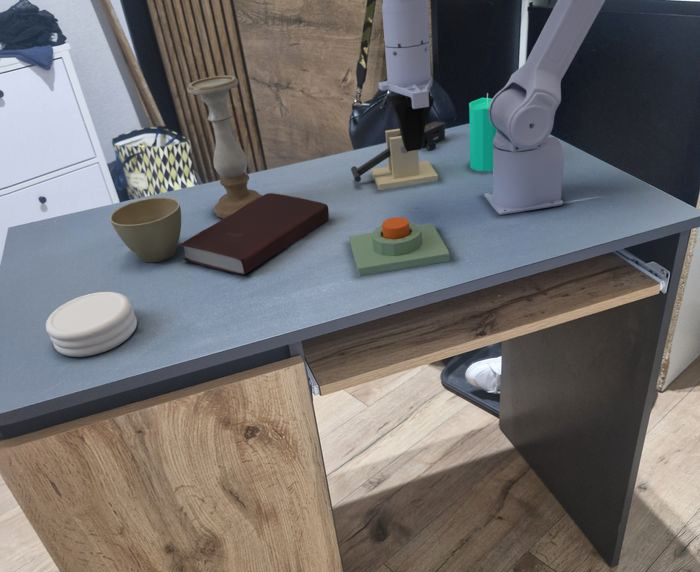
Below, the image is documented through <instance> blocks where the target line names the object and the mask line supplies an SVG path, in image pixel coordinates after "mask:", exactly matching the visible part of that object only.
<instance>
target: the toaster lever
mask: <svg viewBox="0 0 700 572" xmlns="http://www.w3.org/2000/svg"><path fill="white" fill-rule="evenodd" d="M398 136H401V134H399V135H398ZM390 156H391V152H390V147H389V148H388V149H387V148H386V149H385V150H383V151H381V152H380V153H379V154H377V155H375V156H374V157H373V158H371V159H370V160H368V161H366V162H365V163H364V164H362V165H360V166H359V167H357V166H356V165H355V166H352V167H351V168H350V171H351V174H352V177H353V181H354V182H355V183H359V182H361V181H362V177H361V176H362V175H364V174H365V173H367V172H369V171H371V170H372V169H374V168H375V167H376V166H377V165H379V164H380V163H382V162H383V161H385V160H388V157H390Z"/></svg>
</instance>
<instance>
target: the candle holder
mask: <svg viewBox="0 0 700 572" xmlns="http://www.w3.org/2000/svg"><path fill="white" fill-rule="evenodd" d="M238 85H239V80H238V78H237V77H236V76H234V75H227V74H226V75H215V76H210V77H209V76H208V77H205V78H200V79H197V80H194V81H192V82H190V83H189V84H188V85H187V87H186V89H187V93H188V94H189V95H192V96H193V95H195V96H200V98H201V101H202V102H203V103H205V104H206V105H207V107H208V110H209V112H208V116H207V121H208V122H211V124H212V128H213V132H214V138H215V147H214V152H213V153H214V154H213V159H212V160H213V162H212V164H213V167H214V169H215V171H216V172H217V174H218V175H220V176H221V178H220V180H219V184H220V186H222V187H223V188H224V189H225V191H226V193H225V194H223V195H222V196H220V197H219V199H218V202H217V203H216V204H215V205H214V207H213V210H214V214H215V216H217V217H218V218H220V219H224V218H226V217H227V216H229V215H231V214H233V213H234V212H236V211H237V210H239V209H241V208H242V207H244V206H246V205H247V204H249V203H251V202H253V201H254V200H256V199H258V198H260V197H261V196H263V194H261V193H259V192H258V191H257V190H255V189H249V188H248V184H249V183H248V182H249V180H250V176H249V175H248V173H246V172H245V171H246V170H247V167H248V163H249V162H248V157H247V155H246V153H245V151H244V150H243V149H242V148H243V147H241V145H240V144H239V143H238V141H237V139H236V137H235V134H234V131H233V128H232V123H231V118H233V113H232V112H231V111H230V110H229V108H228V106H227V102H228V99H229V98H230V93H229V90H233V89H234V88H236V87H237V86H238Z"/></svg>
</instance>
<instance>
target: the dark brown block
mask: <svg viewBox="0 0 700 572" xmlns="http://www.w3.org/2000/svg"><path fill="white" fill-rule="evenodd" d="M445 139H446V124H445V122H444V121H443V122H441V121H432V122H430V123H428V124H427V123H426V124H425V130H424V137H423V143H422V147H421V149H426V150H427V151H431V150H433V149H435V148H436V147H437V144H438V143H440V142H442V141H444V140H445Z"/></svg>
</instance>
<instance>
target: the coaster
mask: <svg viewBox="0 0 700 572" xmlns="http://www.w3.org/2000/svg"><path fill="white" fill-rule="evenodd" d="M137 325H138V319H137V316H136V315H135V311H134V309H133V307H132V302H131V300H130V299H129V298H128V297H127V296H126V295H124V294H123V293H119V292H115V291H97V292H92V293H89V294H84V295H81V296H78V297H76V298H73V299H71V300H69V301H67V302H65V303H63V304H62V305H60V306H59V307H57V308H56V309H54V310H53V311H52V312H51V314H50V315H49V316H48V318H47V320H46V322H45V330H46V332H47V334H48V335H49V339H50V341H51V343H52V344H53V348H54V349H55V350H56V351H57V353H59V354H61V355H63V356H65V357H66V356H67V357H71V358H72V357H73V358H84V357H85V358H86V357H92V356H95V355H99V354H102V353H105V352H107V351H110V350H112V349H114V348H116V347H118V346H119V345H121V344H123V343H125V341H127V340H128V339H129V338H130V337H131V336H132V335H133V333H134V332H135V330H136V328H137Z"/></svg>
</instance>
